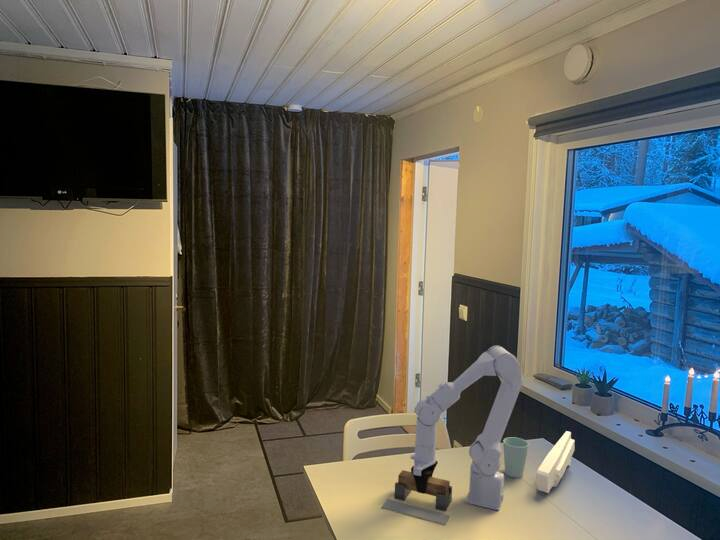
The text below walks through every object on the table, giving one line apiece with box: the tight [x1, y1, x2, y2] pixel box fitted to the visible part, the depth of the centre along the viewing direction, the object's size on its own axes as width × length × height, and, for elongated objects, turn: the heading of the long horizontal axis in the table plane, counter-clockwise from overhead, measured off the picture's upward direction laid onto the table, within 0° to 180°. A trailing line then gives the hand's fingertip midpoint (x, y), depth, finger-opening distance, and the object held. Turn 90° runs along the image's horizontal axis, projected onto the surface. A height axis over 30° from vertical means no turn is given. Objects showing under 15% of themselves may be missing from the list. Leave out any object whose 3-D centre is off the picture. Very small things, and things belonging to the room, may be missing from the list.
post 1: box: [393, 481, 412, 502], centre depth 155 cm, size 3×6×4 cm, turn 156°
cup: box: [502, 436, 530, 478], centre depth 171 cm, size 8×8×10 cm
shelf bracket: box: [535, 430, 576, 494], centre depth 168 cm, size 6×25×13 cm, turn 143°
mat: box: [380, 498, 451, 526], centre depth 147 cm, size 18×5×1 cm, turn 66°
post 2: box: [434, 485, 453, 513], centre depth 150 cm, size 3×6×4 cm, turn 156°
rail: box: [397, 469, 451, 497], centre depth 153 cm, size 14×4×4 cm, turn 66°
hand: (423, 489), depth 153 cm, fingers closed on rail, 3 cm apart
